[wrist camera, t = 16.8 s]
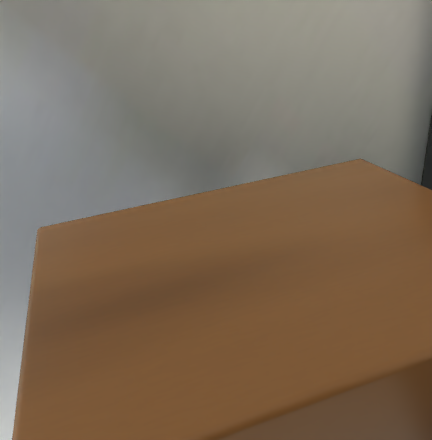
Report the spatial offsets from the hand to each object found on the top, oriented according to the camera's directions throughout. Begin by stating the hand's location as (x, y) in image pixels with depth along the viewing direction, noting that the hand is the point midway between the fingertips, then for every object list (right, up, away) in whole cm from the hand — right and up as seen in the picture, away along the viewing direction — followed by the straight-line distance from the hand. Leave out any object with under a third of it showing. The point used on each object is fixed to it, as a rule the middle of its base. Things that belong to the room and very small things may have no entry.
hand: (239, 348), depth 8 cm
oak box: (0, 0, 0) cm, 1 cm away
